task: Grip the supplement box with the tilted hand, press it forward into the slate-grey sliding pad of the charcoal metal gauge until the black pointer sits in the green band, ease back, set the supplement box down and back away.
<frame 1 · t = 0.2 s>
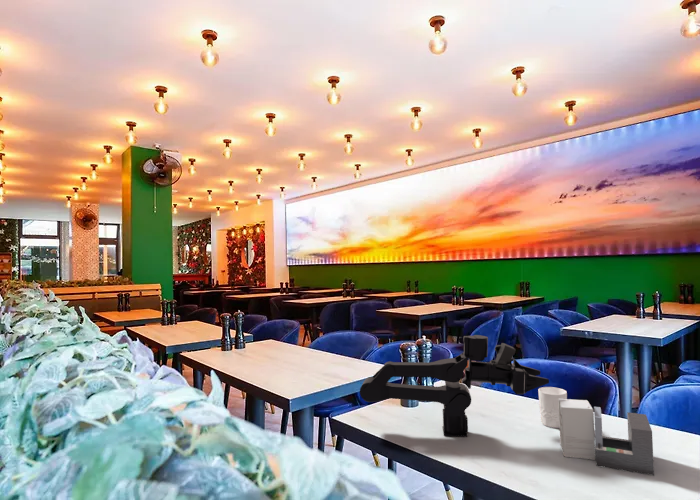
hand: (544, 376, 124), 17 cm above the table, tool horizontal, fingers open, 9 cm apart
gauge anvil: (628, 460, 108), on the table
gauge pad: (598, 433, 110), point 6 cm above the table, slide at 0.1 cm
white cup: (553, 424, 133), on the table
supplement box: (577, 453, 113), on the table
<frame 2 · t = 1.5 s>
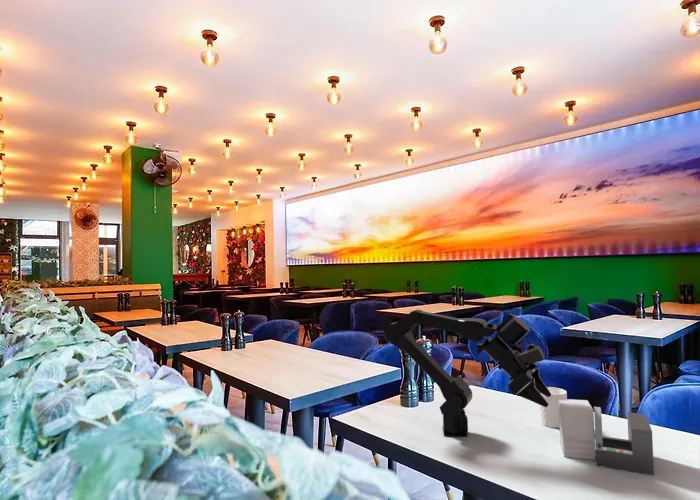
hand: (548, 400, 116), 12 cm above the table, tool tilted 45°, fingers open, 9 cm apart
nothing on the table moved.
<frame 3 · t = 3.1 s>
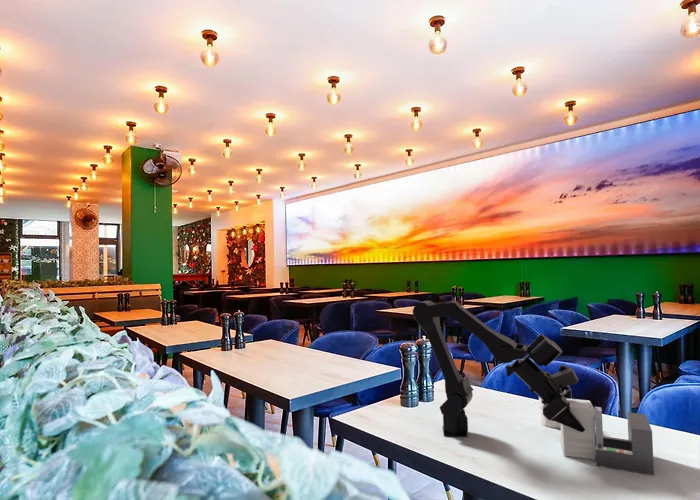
hand: (583, 424, 112), 7 cm above the table, tool tilted 45°, fingers open, 9 cm apart
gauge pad: (599, 433, 110), point 6 cm above the table, slide at 0.2 cm, touching supplement box
supplement box: (577, 453, 113), on the table, touching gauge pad, gripper
everything else where it was.
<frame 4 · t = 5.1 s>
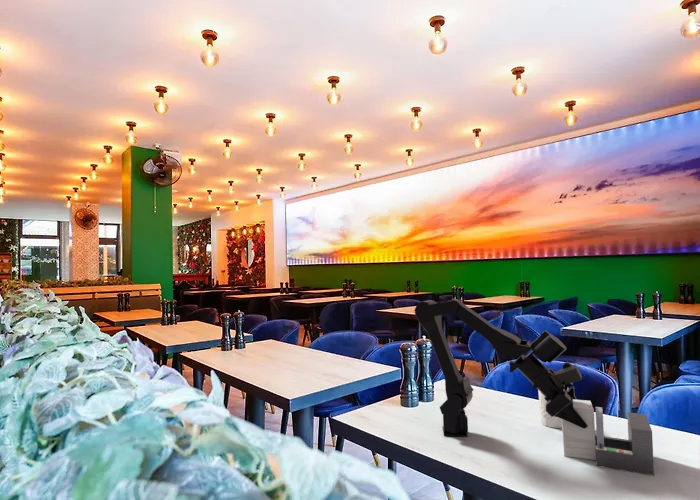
hand: (586, 421, 112), 8 cm above the table, tool tilted 45°, fingers open, 8 cm apart
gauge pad: (600, 433, 110), point 6 cm above the table, slide at 0.4 cm
supplement box: (578, 453, 113), on the table, touching gripper
everything else where it was.
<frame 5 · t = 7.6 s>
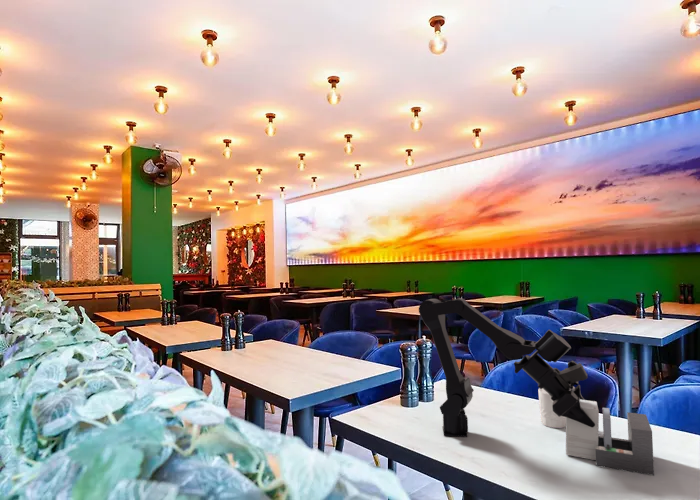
hand: (593, 420, 111), 9 cm above the table, tool tilted 45°, fingers closed on supplement box, 8 cm apart
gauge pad: (607, 434, 109), point 6 cm above the table, slide at 1.9 cm
supplement box: (581, 453, 113), on the table, touching gripper
everything else where it was.
when the fingers open (9 cm above the table, at t = 8.2 s): supplement box stays where it is, on the table.
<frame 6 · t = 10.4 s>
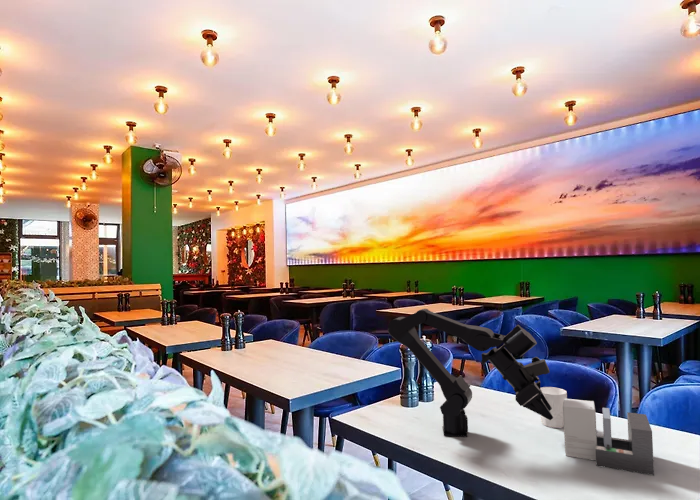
hand: (551, 414, 116), 9 cm above the table, tool tilted 40°, fingers open, 9 cm apart
supplement box: (581, 453, 113), on the table
everything else where it was.
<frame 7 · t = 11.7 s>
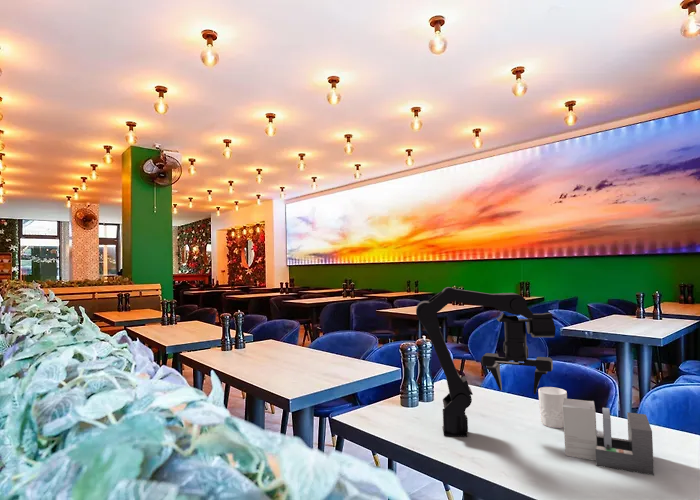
hand: (517, 392, 126), 12 cm above the table, tool pointing down, fingers open, 9 cm apart
nothing on the table moved.
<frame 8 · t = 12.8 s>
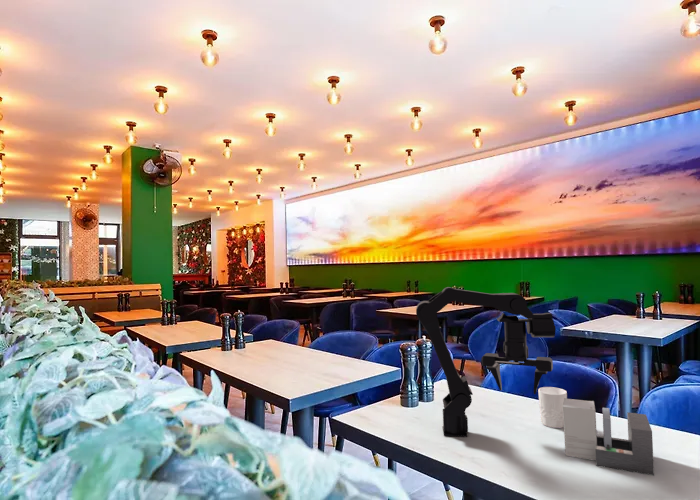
hand: (517, 392, 126), 12 cm above the table, tool pointing down, fingers open, 9 cm apart
nothing on the table moved.
at the end: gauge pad slide at 1.9 cm; supplement box tilted 0°; the gripper is holding nothing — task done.
